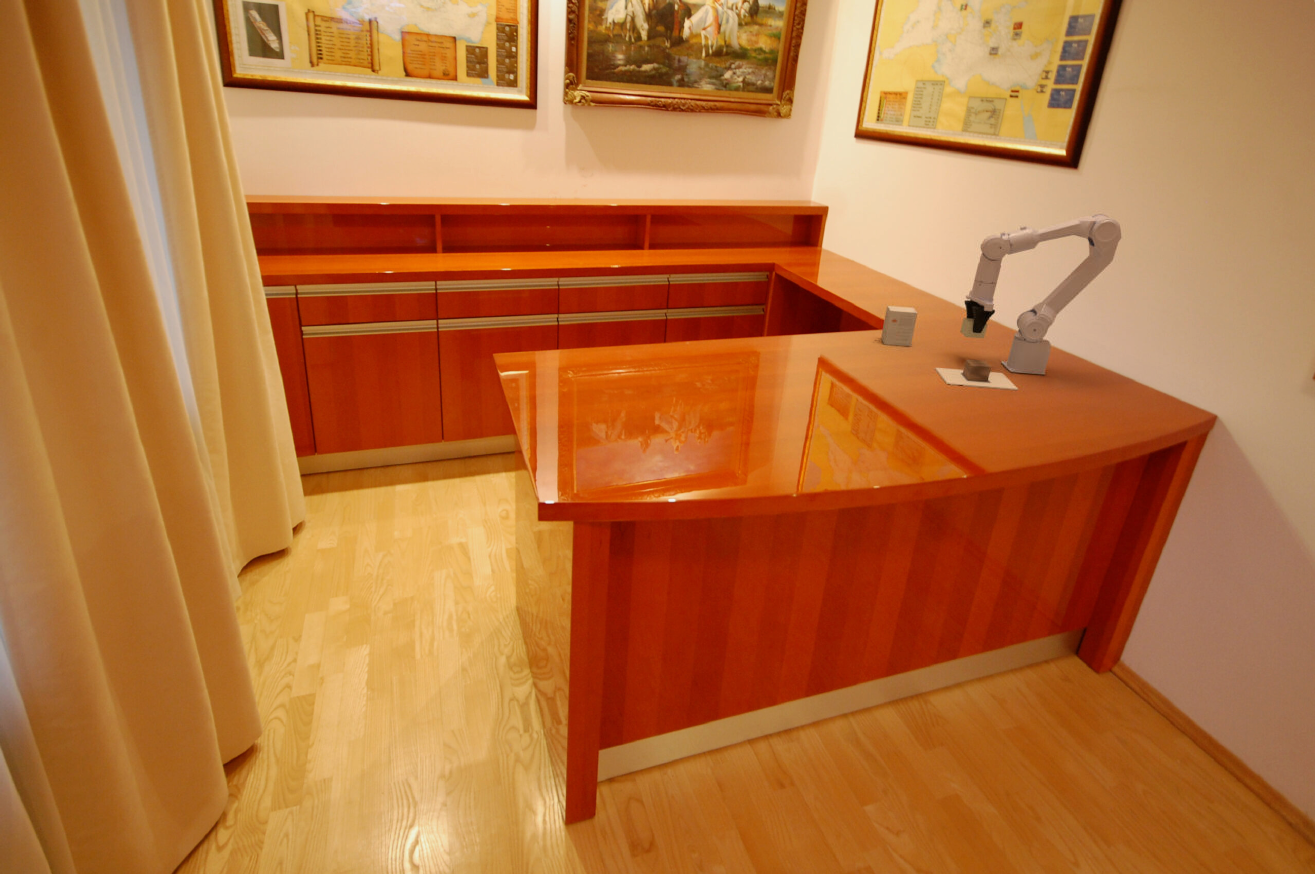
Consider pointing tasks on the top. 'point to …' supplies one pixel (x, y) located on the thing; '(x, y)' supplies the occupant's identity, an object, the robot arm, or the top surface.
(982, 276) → the robot arm
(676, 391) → the top surface
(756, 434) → the top surface
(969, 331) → the sage block
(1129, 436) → the top surface
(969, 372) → the walnut block
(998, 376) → the board
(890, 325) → the small box
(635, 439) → the top surface
